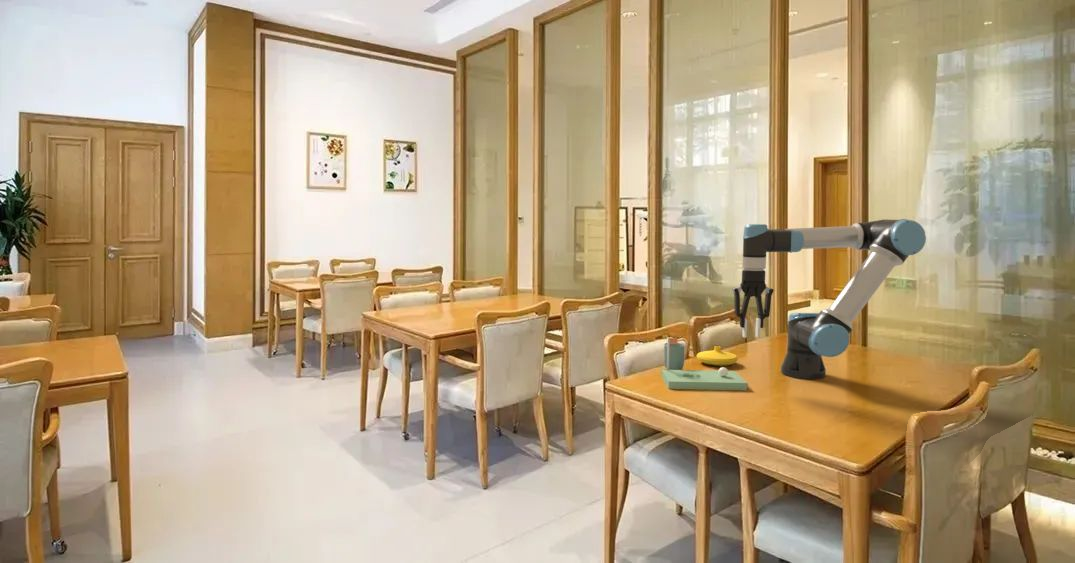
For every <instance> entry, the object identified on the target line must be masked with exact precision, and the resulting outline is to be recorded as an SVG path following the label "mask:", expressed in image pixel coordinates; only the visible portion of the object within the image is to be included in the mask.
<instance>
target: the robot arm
mask: <svg viewBox="0 0 1075 563" xmlns="http://www.w3.org/2000/svg"><path fill="white" fill-rule="evenodd" d="M926 240H927V236H926V231H925V229H924V226H922V225H921V224H920V223H919V222H917V221H915V220H912V219H907V218H900V219H878V220H873V221H866V222H855V223H853V224H852V225H850V226H849V225H848V226H845V225H844V226H827V227H825V226H821V227H820V226H819V227H800V228H799V227H797V228H796V227H795V228H775V229H770V228H768V225H767V224H761V223H759V224H758V223H754V224H751V223H750V224H746V225H744V228H743V236H742V241H743V242H742V243H743V244H742V245H743V246H742V248H743V249H742V268H743V269H742V270H741V283H740V285H739V286H737V287H733V288H732V292H733V294H734V296H733V297H734V303H733V304H734V316H735V317H738V318H739V327H740V328H741V329H742V330H741V331H742V334H741V336H742V337H743V338H744V339H745V338H746V339H747V338H748V337H747V336H748V318H746V316H747V312H748V307H749V303H750V300H751V297H754V299H755V303H756V304H755V305H756V309H757V310H756V311H757V317H755V333H754V334H755V335H754V336H755V338H757V339H760V338H761V329H763V328H764V319H765V318H770V313H771V305H772V304H771V303H772V295H773V294H774V291H775V290H774V289H773V288H771V287H768V286H767V285H766V271H765V269H766V268H767V267H766V264H767V253H790V254H791V253H799V252H801V251H802V250H807V249H809V250H810V249H811V250H812V249H834V248H835V249H836V248H838V249H839V248H852V249H853V250H855V251H857V250H862V251H864V250H865V251H870V253H869V255H868V256H867V257H866V258H865V259H864V261H863V262H862V263H861V265H860V266H859V268H858V269H857V270H856V271H855V272H854V274H853V275H852V276H851V278H850V280H848V282H847V283H846V285H845V286H844V287H843V289H841V291H840V293H839V294H838V295H837V297H836V298H835V299H834V301H833V302H832V303H831V305H830V306H829V307H828V308H826V309H822V310H820V312H791V313H790V314H789V316H788V320H787V344H786V346H787V348H786V354H785V357H783V361H782V364H781V368H780V373H781V374H783V375H784V376H787V377H791V378H796V379H797V378H798V379H806V380H818V379H819V380H820V379H824V378H826V373H827V372H826V371H827V369H826V367H825V363H824V360H823V357H826V358H833V357H837V356H838V357H839V356H840V355H841V354H843V353H844V352H845V351H846V350H847V349H848V347H849V344H850V334H851V333H852V331H853V330H854V328H853V324H852V323H853V322H854V320H855V319H856V318H857V316H858V315H859V314H860V313H861V311H862V310H863V308H864V307H865V306H866V305H867V304H868V302H869V301H870V299H871V298H872V297H873V296H874V294H875V293H876V291H877V290H878V289H879V288H880V286H881V285H882V283H883V282H884V281H885V280H886V278H887V277H888V276H889V274H890V273H891V272H892V270H893V269H894V267H896V266H902V265H904V263H905V262H906V260H907V259H908V258H909V257H910V256H914V255H916V254H918V253H920V252H921V251H922V250H923V249H924V246H925V245H926V243H927V242H926ZM741 291H742V292H743V294H744V295H743V301H742V305H741V295H740V293H741ZM763 292H764V293H765V297H764V308H763V301H762V294H763Z"/></svg>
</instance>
